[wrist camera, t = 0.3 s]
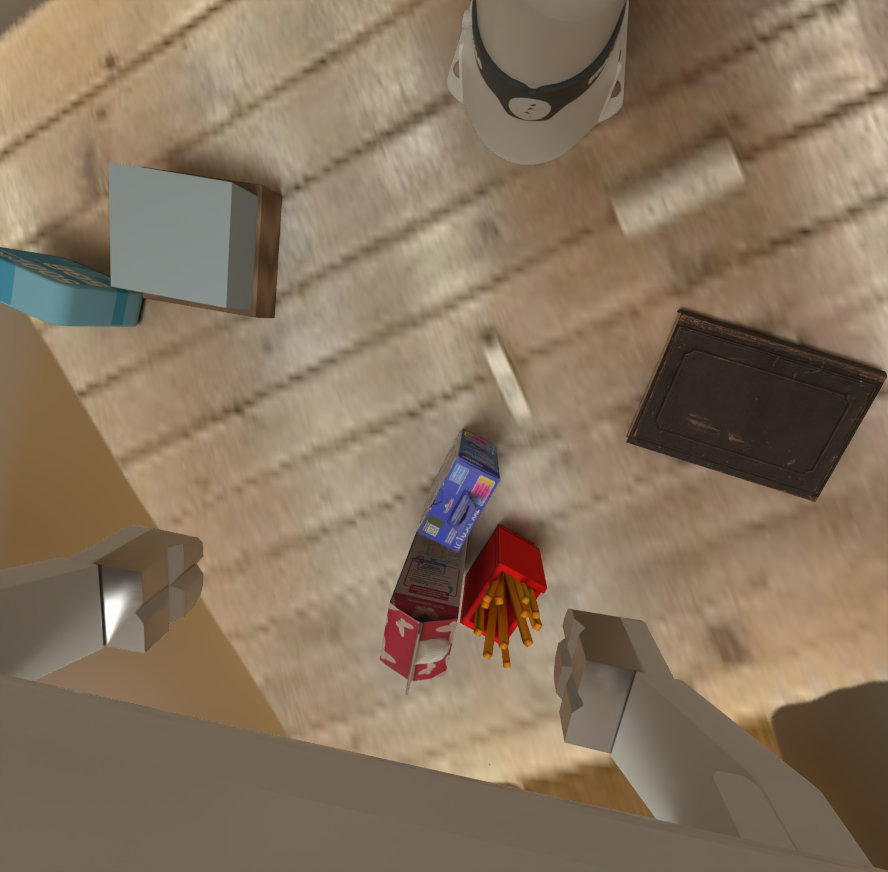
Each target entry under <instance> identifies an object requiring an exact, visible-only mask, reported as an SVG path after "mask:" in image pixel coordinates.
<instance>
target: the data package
mask: <svg viewBox="0 0 888 872" xmlns="http://www.w3.org/2000/svg"><path fill="white" fill-rule="evenodd" d="M142 298H143V292H138V291H133V290H127V289H122V288H117V287H111V277H109V276H106V275H104V274H102V273H99V272H97V271H95V270H92V269H90V268H88V267H85V266H83V265H81V264H79V263H76V262H74V261H71V260H68V259H65V258H61V257H57V256H51V255H45V254H39V253H33V252H27V251H21V250H15V249H9V248H3V247H0V302H1V303H3V304H5V305H8V306H10V307H12V308H14V309H17V310H19V311H21V312H24V313H26V314H28V315H31V316H33V317H35V318H37V319H40V320H42V321H45V322H48V323H51V324H55V325H60V326H114V327H133V326H136V325H137V322H138V318H139V313H140V308H141V303H142Z"/></svg>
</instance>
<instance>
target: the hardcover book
mask: <svg viewBox="0 0 888 872" xmlns="http://www.w3.org/2000/svg"><path fill="white" fill-rule="evenodd" d="M677 312H678V313H679V315H678V317H677V320H676V322H675V324H674V327H673V329H672V331H671V334H670V336H669V338H668V341H667V343H666V346H665V348H664V350H663V353H662V355H661V357H660V360H659V362H658V364H657V367H656V369H655V371H654V374H653V376H652V378H651V381H650V383H649V386H648V388H647V390H646V393H645V395H644V397H643V400H642V402H641V404H640V407H639V409H638V411H637V414H636V416H635V418H634V421H633V423H632V425H631V428H630V430H629V433H628V435H627V438H628V439H627V441H626V442H627V443H630V444H633V445H637V446H640V447H643V448H646V449H649V450H652V451H656V452H659V453H662V454H665V455H668V456H671V457H674V458H678V459H681V460H684V461H687V462H690V463H693V464H697V465H700V466H703V467H706V468H709V469H712V470H716V471H719V472H722V473H725V474H728V475H731V476H735V477H738V478H741V479H744V480H747V481H750V482H754V483H757V484H760V485H763V486H766V487H769V488H773V489H776V490H779V491H782V492H785V493H788V494H792V495H795V496H798V497H801V498H804V499H807V500H811V501H814V502H816V500H817V499H818V497H819V495H820V493H821V492H822V490H823V488H824V486H825V485H826V483H827V481H828V479H829V478H830V476H831V474H832V472H833V471H834V469H835V467H836V465H837V464H838V462H839V460H840V458H841V457H842V455H843V453H844V451H845V450H846V448H847V446H848V444H849V443H850V441H851V439H852V437H853V436H854V434H855V432H856V430H857V429H858V427H859V425H860V423H861V422H862V420H863V418H864V416H865V415H866V413H867V411H868V409H869V408H870V406H871V404H872V403H873V401H874V399H875V397H876V396H877V394H878V392H879V390H880V389H881V387H882V385H883V383H884V382H885V380H886V378H887V374H886V372H885V371H882V370H878V369H875V368H872V367H868V366H865V365H862V364H859V363H855V362H852V361H849V360H845V359H842V358H839V357H835V356H832V355H829V354H826V353H822V352H819V351H816V350H812V349H809V348H806V347H802V346H799V345H796V344H793V343H789V342H786V341H783V340H779V339H776V338H773V337H770V336H766V335H763V334H760V333H756V332H753V331H750V330H746V329H743V328H740V327H737V326H733V325H730V324H727V323H723V322H720V321H717V320H713V319H710V318H707V317H704V316H700V315H697V314H694V313H690V312H687V311H684V310H679V311H677Z"/></svg>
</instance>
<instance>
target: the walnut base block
mask: <svg viewBox="0 0 888 872" xmlns="http://www.w3.org/2000/svg"><path fill="white" fill-rule="evenodd" d="M143 168H145V167H143ZM149 169H152V168H149ZM155 170H159V169H155ZM161 171H165V170H161ZM167 172H172V171H167ZM173 173H178V172H173ZM179 174H185V173H179ZM185 175H191V174H185ZM191 176H197V177H203V178H209V179H215V180H221V181H227V182H232V183H234V184H236V185H238V186H239V187H241V188H243V189H245V190H247V191H248V192H250V193H252V194H254V195H256V196H257V197H258V211H257V227H256V244H255V260H254V276H253V293H252V309H251V310H248V309H235V308H224V307H219V306H214V305H208V304H203V303H197V302H192V301H187V300H181V299H176V298H170V297H165V296H160V295H154V294H149V293H144V292H143V298H146V299H152V300H158V301H164V302H169V303H175V304H181V305H187V306H193V307H198V308H204V309H210V310H216V311H222V312H227V313H233V314H239V315H245V316H250V317H258V318H275V302H276V286H277V270H278V254H279V237H280V221H281V205H282V197H281V196H279V195H277V194H276V193H274V192H273V191H271V190H269V189H268V188H266V187H264V186H263V185H257V184H251V183H244V182H238V181H231V180H224V179H218V178H211V177H205V176H198V175H191Z"/></svg>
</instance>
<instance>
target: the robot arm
mask: <svg viewBox="0 0 888 872" xmlns="http://www.w3.org/2000/svg"><path fill="white" fill-rule="evenodd" d="M628 8H629V0H472V1H471V4H470V7H469V10H465V12H464V16H463V20H462V28H463V29H462V33H461V36H460V39H459V42H458V45H457V48H456V52H455V55H454V58H453V61H452V64H451V68H450V71H449V74H448V77H447V87H448V89H449V91H450V93H451V94H452V95H453V96H454V98H455V99H456V100H457V101H458V102H459V103H460V104H461V105H462V106H463V107H464V108H465V110H466V112H467V114H468V116H469V118H470V121H471V123H472V125H473V127H474V129H475V131H476V133H477V134H478V136H479V137H480V139H481V140H482V142H483V143H484V144H485V145H486V146H487V147H488V148H489V149H490V150H491V151H492V152H493V153H494V154H496V155H497V156H499V157H501V158H502V159H504V160H507V161H509V162H512V163H516V164H522V165H534V164H541V163H545V162H548V161H551V160H553V159H555V158H557V157H559V156H561V155H563V154H564V153H566V152H567V151H568V150H570V149H571V148H572V147H574V146H575V145H576V144H577V143H578V142H579V141H580V140H581V139H582V138H583V137H584V136H585V135H586V134H587V133H588V132H589V131H590V130H591V129H592V128H593V127H594V126H595V125H597V124H599V123H601V122H603V121H604V120H606V119H608V118H610V117H612V116H613V115H615V114H616V113H617V112H618V111H619V110H620V109H621V107H622V104H623V98H624V80H625V62H626V44H627V26H628ZM458 61H459V73H460V78H458V77H456V76H455V74H454V71H453V69H454V66H455V64H456V63H457V62H458ZM616 81H618V82H619V83H620V86H621V90H620V93H619V94H618V95H617V96H616V97H614V98H610V96H611V94H612V91H613V89H614V86H615V84H616ZM202 557H203V543H202V541H201V540H200V539H199V538H197V537H193V536H188V535H183V534H179V533H174V532H169V531H164V530H160V529H155V528H150V527H145V526H139V525H129V526H127V527H125V528H124V529H122V530H120V531H118V532H116V533H114V534H112V535H110V536H108V537H107V538H105V539H103V540H101V541H99V542H97V543H95V544H94V545H92V546H90V547H88V548H86V549H84V550H83V551H80V552H79V553H77V554H75V555H73V556H71V557H69V558H61V557H59V558H55V559H50V560H45V561H41V562H36V563H31V564H27V565H22V566H18V567H13V568H9V569H4V570H0V872H888V871H887V870H882V869H878V868H874V867H873V866H872V864H871V863H870V861H869V860H868V859H867V857H866V856H865V854H864V853H863V851H862V850H861V849H860V847H859V846H858V844H857V843H856V841H855V840H854V839H853V837H852V836H851V834H850V833H849V832H848V830H847V829H846V827H845V826H844V824H843V823H842V821H841V820H840V819H839V817H838V816H837V814H836V813H835V811H834V810H833V809H832V807H831V806H830V804H829V803H828V801H827V800H826V799H825V797H824V796H823V794H822V793H821V792H820V790H818V789H817V788H816V787H814V786H813V785H812V784H811V783H810V782H808V781H807V780H806V779H805V778H803V777H802V776H801V775H800V774H798V773H797V772H796V771H795V770H793V769H792V768H791V767H790V766H788V765H787V764H786V763H785V762H783V761H782V760H781V759H780V758H778V757H777V756H776V755H775V754H773V753H772V752H771V751H770V750H768V749H767V748H766V747H765V746H763V745H762V744H761V743H760V742H758V741H757V740H756V739H755V738H754V737H752V736H751V735H750V734H749V733H747V732H746V731H745V730H744V729H742V728H741V727H740V726H739V725H737V724H736V723H735V722H734V721H732V720H731V719H730V718H729V717H727V716H726V715H725V714H724V713H722V712H721V711H720V710H719V709H717V708H716V707H715V706H714V705H712V704H711V703H710V702H709V701H707V700H706V699H705V698H704V697H702V696H701V695H700V694H699V693H697V692H696V691H695V690H694V689H692V688H691V687H690V686H689V685H687V684H686V683H685V682H684V681H682V680H677V679H674V677H673V675H672V674H671V672H670V670H669V668H668V666H667V664H666V662H665V660H664V658H663V656H662V654H661V652H660V650H659V649H658V647H657V645H656V643H655V641H654V639H653V637H652V635H651V633H650V631H649V629H648V627H647V625H646V624H645V623H644V622H643V621H642V620H636V619H630V618H623V617H615V616H609V615H603V614H597V613H591V612H585V611H579V610H573V609H568V610H567V612H566V615H565V618H564V622H563V630H564V634H565V639H563V640H562V641H561V642H560V643H558V647H557V652H556V656H555V666H554V682H555V689H556V693H557V694H558V696H559V697H560V698H561V699H562V703H561V707H560V711H559V713H560V719H561V724H562V730H563V736H564V742H565V743H569V744H573V745H577V746H582V747H586V748H590V749H594V750H598V751H602V752H606V753H610V754H611V757H612V758H613V760H614V761H615V763H616V764H617V765H618V767H619V768H620V769H621V771H622V772H623V774H624V775H625V776H626V778H627V779H628V780H629V782H630V783H631V785H632V786H633V787H634V789H635V790H636V792H637V793H638V794H639V796H640V797H641V798H642V800H643V801H644V803H645V804H646V805H647V807H648V808H649V809H650V811H651V812H652V814H653V815H654V816H655V818H656V819H653V818H649V817H644V816H639V815H635V814H630V813H626V812H621V811H617V810H612V809H608V808H603V807H599V806H594V805H589V804H585V803H580V802H575V801H571V800H566V799H562V798H557V797H553V796H548V795H544V794H539V793H535V792H530V791H526V790H521V789H517V788H512V787H508V786H504V785H499V784H495V783H490V782H486V781H481V780H477V779H472V778H468V777H463V776H459V775H454V774H450V773H445V772H441V771H436V770H432V769H427V768H423V767H418V766H414V765H409V764H405V763H400V762H396V761H391V760H387V759H382V758H378V757H373V756H369V755H364V754H360V753H355V752H351V751H346V750H342V749H337V748H333V747H328V746H324V745H319V744H315V743H310V742H306V741H301V740H296V739H292V738H287V737H283V736H278V735H273V734H269V733H264V732H260V731H255V730H251V729H246V728H242V727H237V726H232V725H228V724H224V723H219V722H214V721H210V720H206V719H201V718H197V717H192V716H188V715H183V714H179V713H174V712H170V711H165V710H160V709H156V708H152V707H147V706H143V705H138V704H134V703H129V702H124V701H120V700H115V699H111V698H107V697H102V696H98V695H93V694H89V693H84V692H79V691H75V690H71V689H66V688H62V687H57V686H53V685H48V684H44V683H39V682H35V680H37V679H39V678H41V677H43V676H45V675H47V674H50V673H51V672H54V671H56V670H58V669H60V668H62V667H64V666H66V665H69V664H71V663H73V662H75V661H77V660H79V659H81V658H83V657H86V656H88V655H90V654H92V653H94V652H96V651H98V650H100V649H102V648H103V647H104V646H108V647H113V648H120V649H124V650H130V651H136V652H141V653H145V652H147V651H148V650H149V649H150V648H151V647H152V646H153V645H154V644H155V643H156V642H157V641H158V640H160V639H161V638H162V637H163V636H164V635H165V634H166V633H167V632H168V631H169V624H170V622H172V621H174V620H177V619H179V618H182V617H184V616H185V615H186V614H187V613H188V612H189V611H190V610H191V609H192V608H193V607H194V606H195V604H196V602H197V600H198V598H199V597H200V595H201V591H202V587H203V573H202V571H201V570H200V568H199V566H198V565H197V563H198V562H199V561H200V559H201V558H202Z"/></svg>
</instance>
